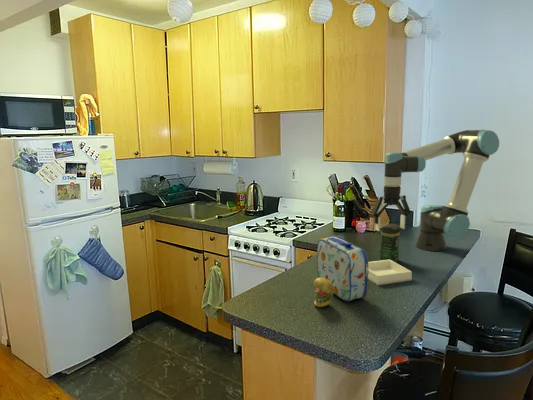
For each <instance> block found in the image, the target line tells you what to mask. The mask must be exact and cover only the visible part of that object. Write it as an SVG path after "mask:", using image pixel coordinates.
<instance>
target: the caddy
mask: <svg viewBox="0 0 533 400" xmlns="http://www.w3.org/2000/svg"><path fill="white" fill-rule="evenodd" d="M368 268H369V274H368V277H367V280H368V281H370V282H372V283H373V284H375V285H376V286H382V285H388V284H389V285H390V284H395V283H396V284H397V283H404V282H410V281H412V280H413V279H412V277H413V276H412V273H413V272H412V271H411V270H410V269H408V268H406V267H404V266H402V265H400V264H399V263H397V262H396V263H395V262H394V261H392V260H390V259H389V260H380V259H379V260H373V261H368Z"/></svg>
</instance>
